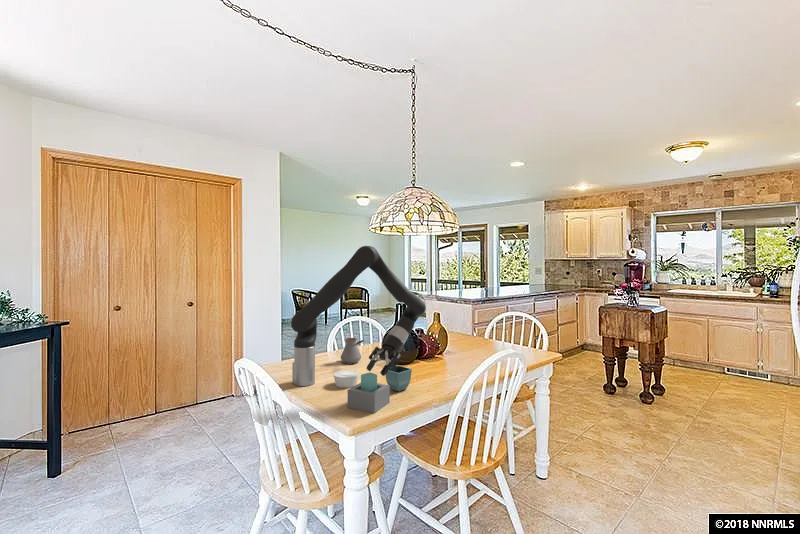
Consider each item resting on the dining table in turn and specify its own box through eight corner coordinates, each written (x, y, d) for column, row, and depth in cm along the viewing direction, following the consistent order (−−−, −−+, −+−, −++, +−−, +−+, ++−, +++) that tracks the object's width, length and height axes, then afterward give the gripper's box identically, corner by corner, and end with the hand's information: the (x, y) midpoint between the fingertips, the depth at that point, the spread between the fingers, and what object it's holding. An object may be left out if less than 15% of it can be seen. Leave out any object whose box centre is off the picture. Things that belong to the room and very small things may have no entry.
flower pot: (384, 389, 172) (384, 368, 172) (398, 384, 178) (398, 365, 178) (397, 394, 166) (398, 373, 166) (412, 389, 172) (412, 369, 172)
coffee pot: (337, 361, 219) (337, 334, 218) (355, 358, 225) (355, 332, 224) (353, 370, 200) (353, 341, 200) (373, 367, 207) (373, 339, 206)
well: (347, 407, 150) (347, 389, 150) (363, 397, 161) (363, 381, 161) (374, 413, 145) (374, 394, 145) (389, 402, 156) (389, 385, 156)
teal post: (360, 402, 153) (360, 374, 153) (369, 399, 157) (369, 372, 156) (368, 405, 150) (368, 377, 150) (377, 402, 153) (377, 374, 153)
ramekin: (334, 389, 171) (334, 377, 171) (332, 382, 182) (332, 370, 182) (360, 387, 174) (360, 375, 174) (356, 380, 185) (356, 369, 185)
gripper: (380, 331, 166) (358, 363, 158) (403, 336, 156) (381, 370, 148) (389, 342, 170) (368, 373, 162) (412, 347, 160) (392, 381, 152)
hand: (374, 372), depth 155 cm, fingers open, 8 cm apart
